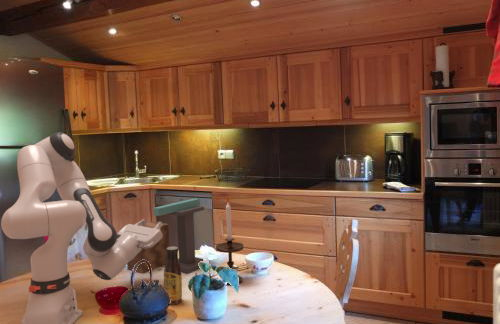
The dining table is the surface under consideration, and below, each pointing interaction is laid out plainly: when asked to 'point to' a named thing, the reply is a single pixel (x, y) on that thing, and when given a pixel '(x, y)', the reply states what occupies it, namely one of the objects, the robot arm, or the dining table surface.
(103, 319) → the dining table surface
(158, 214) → the teal rod
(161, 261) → the walnut block
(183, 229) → the dark grey pedestal stand
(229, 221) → the candlestick
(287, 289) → the dining table surface
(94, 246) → the robot arm
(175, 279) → the sauce bottle
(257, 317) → the dining table surface
